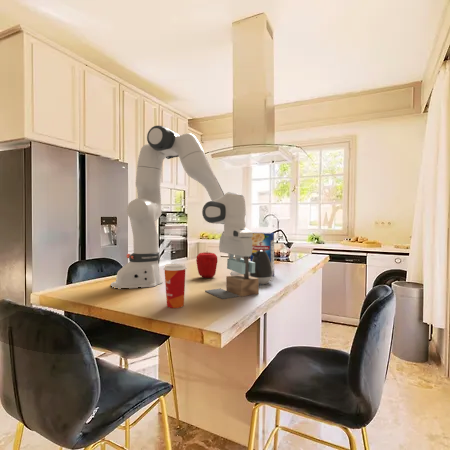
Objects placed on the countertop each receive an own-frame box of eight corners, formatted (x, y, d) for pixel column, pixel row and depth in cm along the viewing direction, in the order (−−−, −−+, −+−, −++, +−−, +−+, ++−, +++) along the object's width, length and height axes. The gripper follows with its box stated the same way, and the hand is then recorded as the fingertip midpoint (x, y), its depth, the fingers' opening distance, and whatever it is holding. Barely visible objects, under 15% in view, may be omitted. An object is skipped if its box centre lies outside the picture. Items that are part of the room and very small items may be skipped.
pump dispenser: (245, 282, 145) (245, 249, 145) (265, 280, 150) (264, 248, 149) (256, 286, 136) (256, 251, 136) (276, 284, 140) (276, 250, 140)
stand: (241, 296, 119) (241, 256, 118) (226, 290, 128) (226, 254, 128) (258, 293, 123) (258, 255, 123) (242, 288, 132) (242, 253, 132)
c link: (227, 268, 129) (227, 258, 128) (239, 267, 132) (239, 257, 131) (242, 274, 119) (242, 263, 119) (254, 272, 122) (255, 262, 122)
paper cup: (165, 303, 110) (164, 263, 110) (187, 302, 111) (186, 262, 111) (162, 309, 103) (162, 266, 102) (186, 308, 103) (185, 266, 103)
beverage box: (271, 277, 158) (270, 233, 157) (250, 275, 162) (249, 233, 162) (274, 274, 164) (274, 232, 164) (254, 273, 168) (254, 232, 168)
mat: (222, 299, 115) (222, 297, 115) (205, 291, 127) (205, 290, 127) (238, 296, 119) (238, 295, 119) (220, 289, 131) (220, 288, 131)
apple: (192, 277, 158) (192, 250, 157) (206, 275, 165) (206, 249, 165) (207, 280, 151) (207, 252, 150) (221, 277, 158) (221, 250, 158)
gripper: (215, 231, 137) (215, 262, 137) (241, 233, 119) (241, 269, 119) (228, 230, 140) (227, 261, 140) (255, 232, 122) (255, 268, 122)
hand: (234, 265), depth 129 cm, fingers closed on c link
